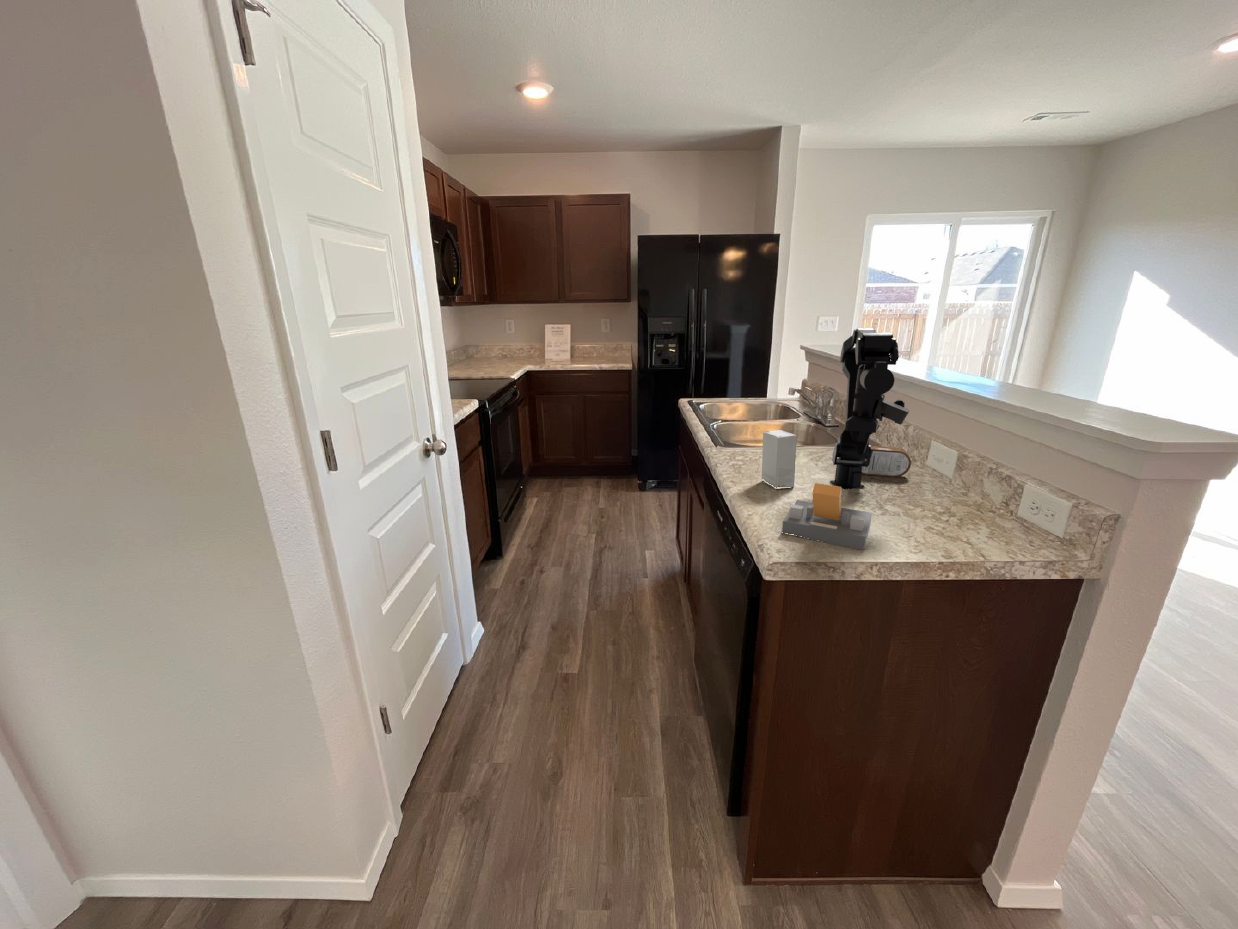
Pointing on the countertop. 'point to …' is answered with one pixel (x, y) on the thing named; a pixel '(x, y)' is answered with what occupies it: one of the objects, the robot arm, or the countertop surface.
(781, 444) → the skincare box
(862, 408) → the robot arm
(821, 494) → the lever
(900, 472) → the tin
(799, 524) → the box
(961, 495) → the countertop surface
